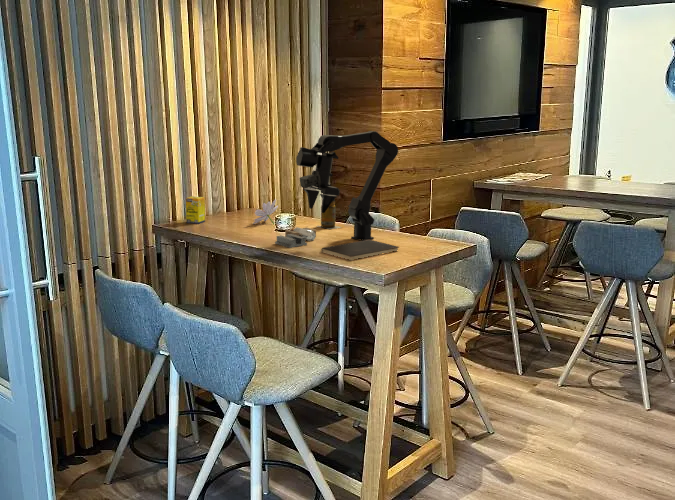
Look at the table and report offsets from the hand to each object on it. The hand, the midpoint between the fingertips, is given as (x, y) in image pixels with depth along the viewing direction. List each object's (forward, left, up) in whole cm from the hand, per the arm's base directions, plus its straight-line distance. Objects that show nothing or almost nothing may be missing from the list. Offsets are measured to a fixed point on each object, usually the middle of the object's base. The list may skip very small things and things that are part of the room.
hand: (316, 210), depth 254 cm
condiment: (+20, -23, -12) cm, 33 cm away
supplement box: (+63, +16, -12) cm, 66 cm away
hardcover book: (-22, -2, -13) cm, 26 cm away
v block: (+3, +10, -12) cm, 16 cm away
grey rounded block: (+10, 0, -12) cm, 16 cm away
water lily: (+44, -7, -12) cm, 46 cm away
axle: (+8, 0, -12) cm, 14 cm away
